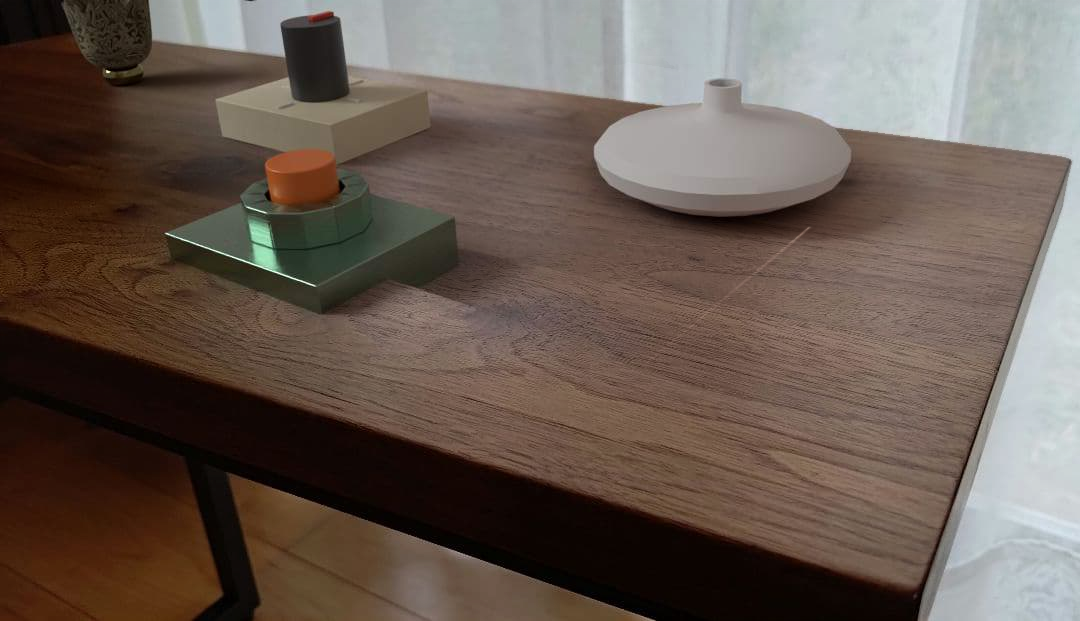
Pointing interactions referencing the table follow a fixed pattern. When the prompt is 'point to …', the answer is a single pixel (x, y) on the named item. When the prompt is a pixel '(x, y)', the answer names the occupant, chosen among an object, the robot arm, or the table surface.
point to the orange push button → (302, 177)
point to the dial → (315, 57)
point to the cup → (112, 36)
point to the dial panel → (325, 118)
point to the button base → (319, 244)
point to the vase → (722, 155)
